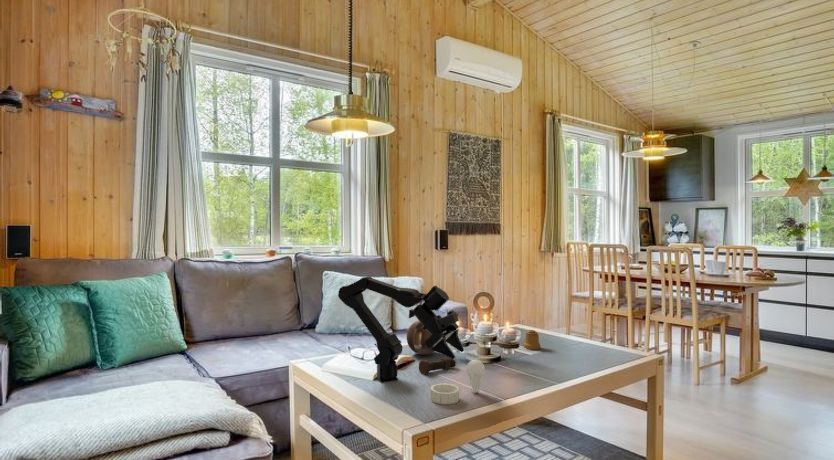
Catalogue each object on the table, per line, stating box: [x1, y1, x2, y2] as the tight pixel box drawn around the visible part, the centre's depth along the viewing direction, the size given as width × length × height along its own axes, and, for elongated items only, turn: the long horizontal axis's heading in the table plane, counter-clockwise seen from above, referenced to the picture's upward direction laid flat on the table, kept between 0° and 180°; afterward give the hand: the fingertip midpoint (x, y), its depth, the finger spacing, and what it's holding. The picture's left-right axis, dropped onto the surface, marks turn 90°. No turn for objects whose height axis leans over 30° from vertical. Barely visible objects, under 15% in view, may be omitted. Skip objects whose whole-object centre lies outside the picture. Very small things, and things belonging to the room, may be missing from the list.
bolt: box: [418, 357, 457, 376], centre depth 185 cm, size 6×5×15 cm
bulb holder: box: [430, 383, 460, 406], centre depth 155 cm, size 9×9×4 cm
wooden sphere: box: [406, 319, 436, 356], centre depth 206 cm, size 15×15×15 cm
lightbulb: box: [466, 359, 486, 394], centre depth 161 cm, size 6×6×11 cm
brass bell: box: [523, 329, 541, 351], centre depth 218 cm, size 8×8×8 cm
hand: (458, 354), depth 163 cm, fingers open, 9 cm apart
